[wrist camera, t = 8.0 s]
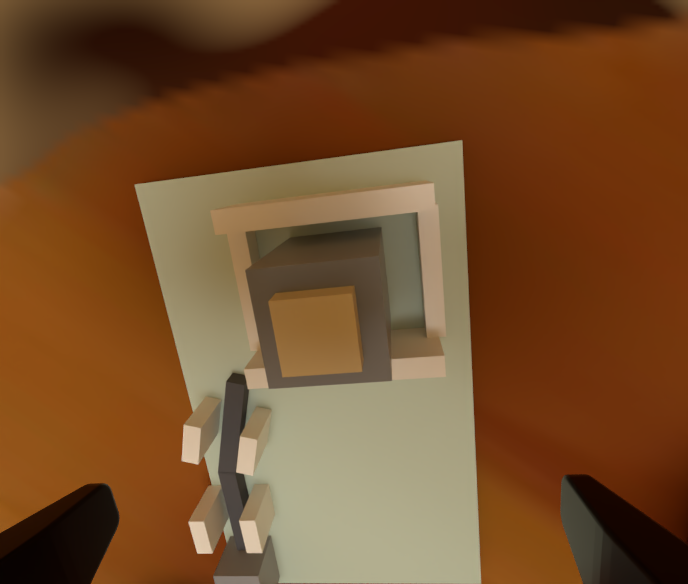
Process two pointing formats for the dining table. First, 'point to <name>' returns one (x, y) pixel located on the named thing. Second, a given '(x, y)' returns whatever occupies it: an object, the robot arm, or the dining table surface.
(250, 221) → the holder
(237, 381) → the cable
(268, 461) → the board
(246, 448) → the clamp and clips
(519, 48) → the dining table surface
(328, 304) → the block
